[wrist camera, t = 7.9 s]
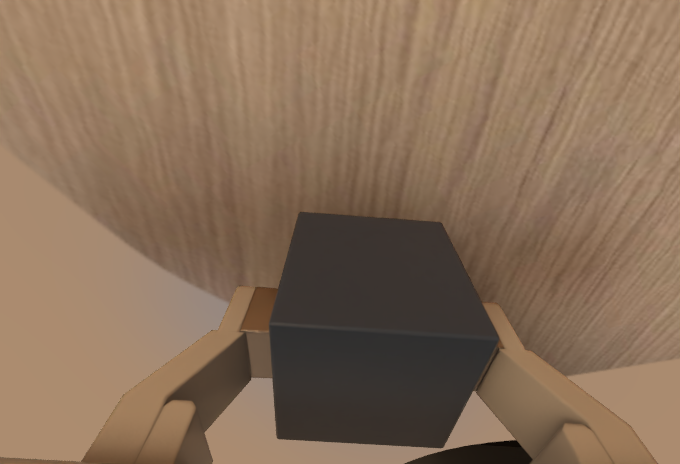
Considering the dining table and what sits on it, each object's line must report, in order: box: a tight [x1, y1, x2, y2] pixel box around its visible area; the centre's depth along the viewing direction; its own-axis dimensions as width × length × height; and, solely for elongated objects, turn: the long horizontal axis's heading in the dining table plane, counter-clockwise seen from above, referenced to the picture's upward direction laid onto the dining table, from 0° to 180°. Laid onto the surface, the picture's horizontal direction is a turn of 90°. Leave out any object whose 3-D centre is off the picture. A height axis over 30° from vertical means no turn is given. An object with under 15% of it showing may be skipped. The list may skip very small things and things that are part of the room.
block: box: [269, 212, 499, 448], centre depth 9 cm, size 4×4×4 cm
